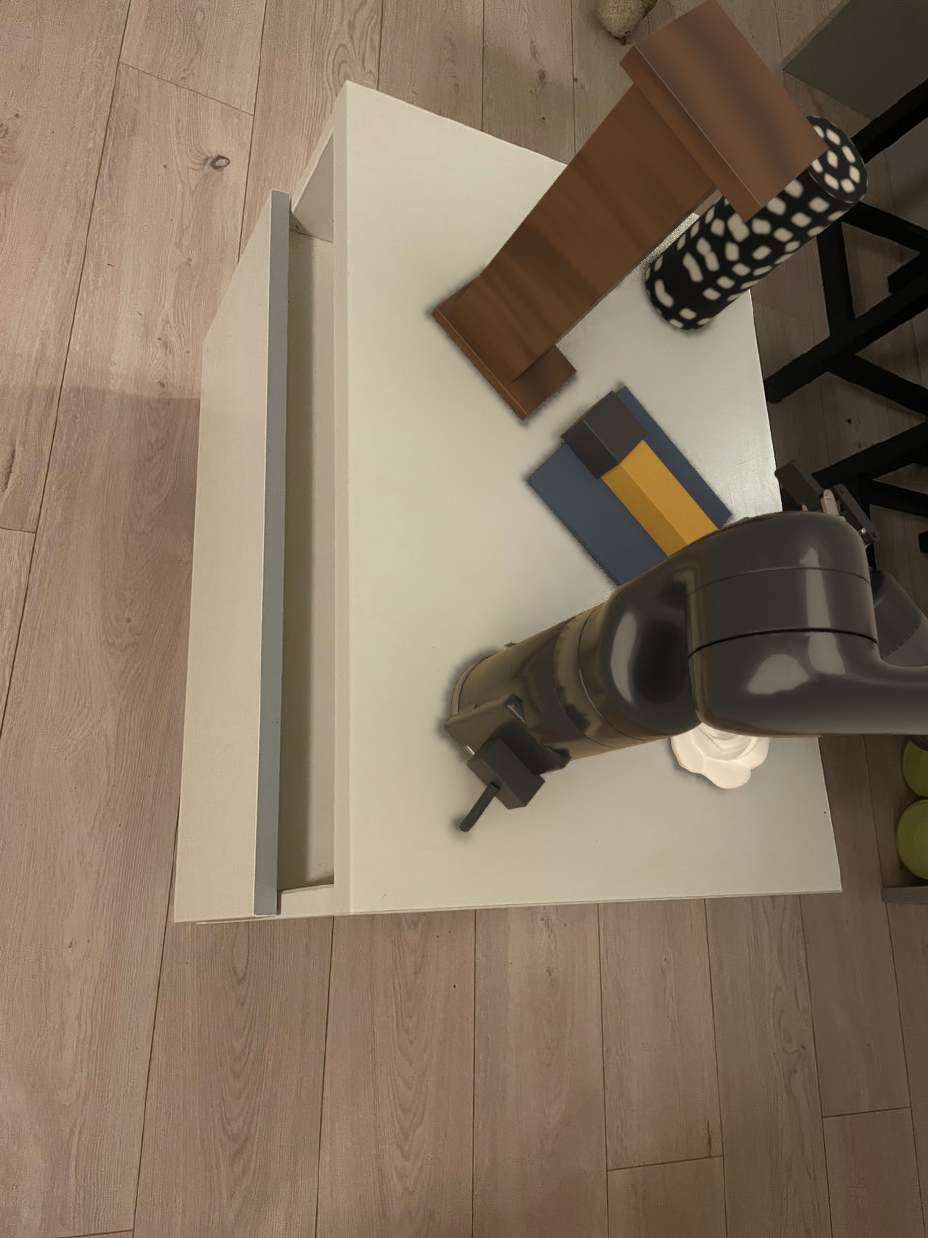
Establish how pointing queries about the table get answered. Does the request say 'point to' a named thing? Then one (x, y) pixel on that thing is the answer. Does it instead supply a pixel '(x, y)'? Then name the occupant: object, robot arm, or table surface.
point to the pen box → (636, 474)
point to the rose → (720, 754)
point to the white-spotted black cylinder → (754, 236)
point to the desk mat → (617, 501)
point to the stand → (631, 196)
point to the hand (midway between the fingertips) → (760, 492)
